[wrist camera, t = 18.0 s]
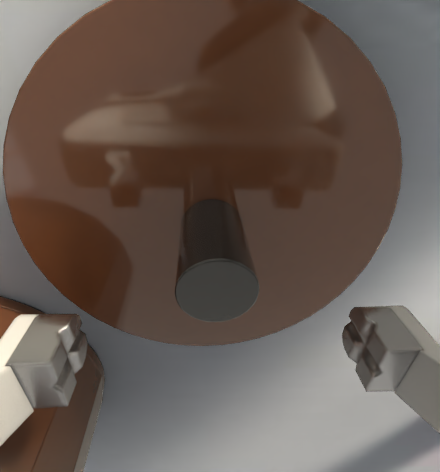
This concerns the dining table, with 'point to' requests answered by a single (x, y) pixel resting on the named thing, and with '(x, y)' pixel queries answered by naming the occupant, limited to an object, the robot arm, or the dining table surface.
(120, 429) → the dining table surface
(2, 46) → the dining table surface
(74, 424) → the crock
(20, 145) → the lid
